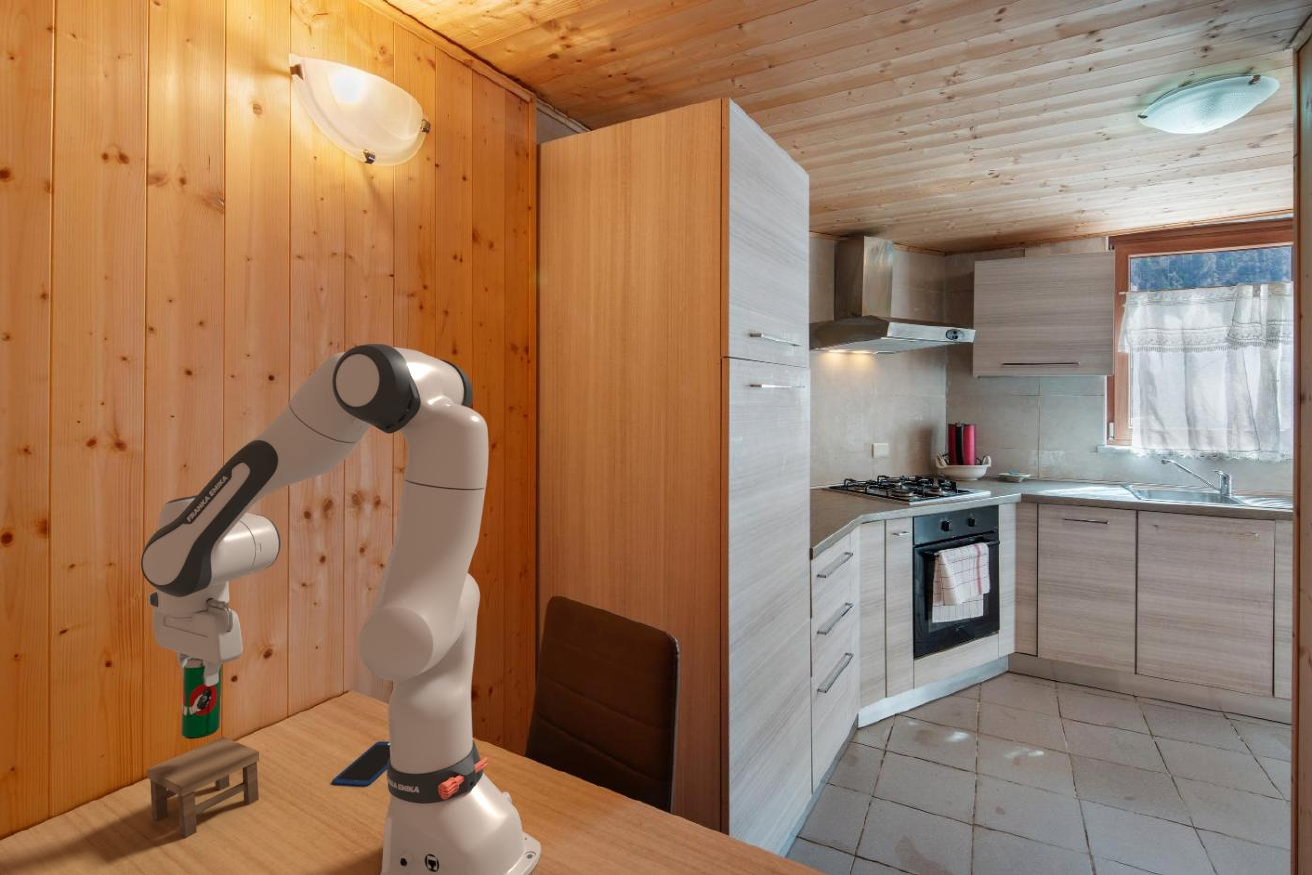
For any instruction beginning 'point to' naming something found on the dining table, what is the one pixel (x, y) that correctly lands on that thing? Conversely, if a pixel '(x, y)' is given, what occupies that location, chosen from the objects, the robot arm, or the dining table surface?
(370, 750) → the cell phone
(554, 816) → the dining table surface
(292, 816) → the dining table surface
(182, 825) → the stool
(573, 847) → the dining table surface
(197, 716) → the soda can
